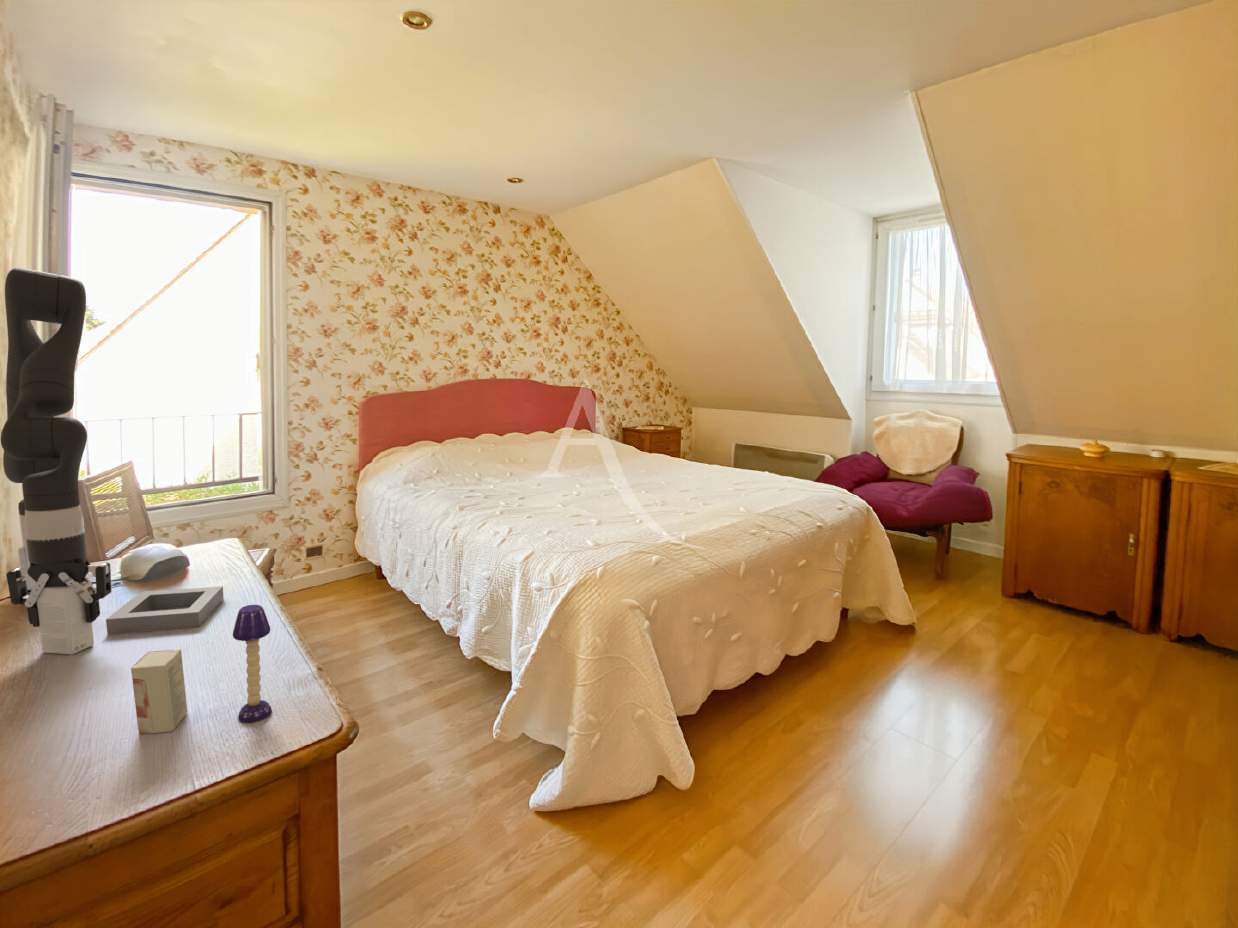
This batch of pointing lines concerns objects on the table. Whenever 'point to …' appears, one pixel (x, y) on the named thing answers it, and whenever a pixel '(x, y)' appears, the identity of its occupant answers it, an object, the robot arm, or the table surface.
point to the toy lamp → (252, 659)
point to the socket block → (140, 619)
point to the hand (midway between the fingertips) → (65, 623)
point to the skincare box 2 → (159, 691)
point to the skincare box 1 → (63, 621)
